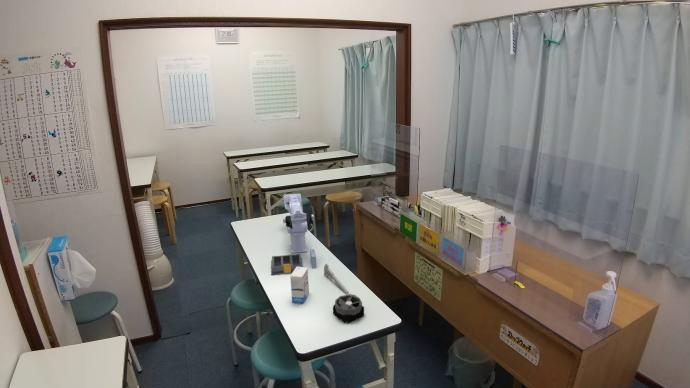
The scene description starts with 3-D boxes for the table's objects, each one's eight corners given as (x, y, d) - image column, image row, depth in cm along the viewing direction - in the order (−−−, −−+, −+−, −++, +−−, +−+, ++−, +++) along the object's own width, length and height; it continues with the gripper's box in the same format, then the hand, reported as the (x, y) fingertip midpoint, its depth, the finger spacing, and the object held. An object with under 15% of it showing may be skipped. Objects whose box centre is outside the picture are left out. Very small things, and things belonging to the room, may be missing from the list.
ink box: (303, 303, 156) (302, 277, 153) (291, 302, 157) (289, 276, 154) (309, 292, 164) (308, 266, 161) (298, 291, 165) (296, 265, 162)
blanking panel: (310, 260, 192) (310, 249, 190) (314, 260, 192) (314, 249, 191) (312, 268, 184) (311, 256, 183) (316, 268, 185) (316, 256, 183)
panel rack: (271, 261, 192) (270, 252, 190) (301, 258, 194) (301, 250, 193) (271, 275, 179) (270, 266, 177) (303, 272, 181) (303, 263, 180)
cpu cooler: (345, 312, 141) (329, 300, 148) (345, 326, 142) (329, 313, 150) (367, 302, 147) (350, 291, 154) (367, 315, 148) (351, 303, 156)
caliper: (323, 275, 178) (323, 263, 176) (326, 275, 179) (325, 262, 177) (348, 297, 161) (347, 283, 159) (350, 296, 162) (350, 282, 160)
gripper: (281, 208, 190) (283, 219, 177) (311, 205, 192) (315, 216, 180) (283, 221, 192) (284, 234, 180) (312, 218, 195) (316, 230, 182)
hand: (300, 226), depth 180 cm, fingers open, 7 cm apart
